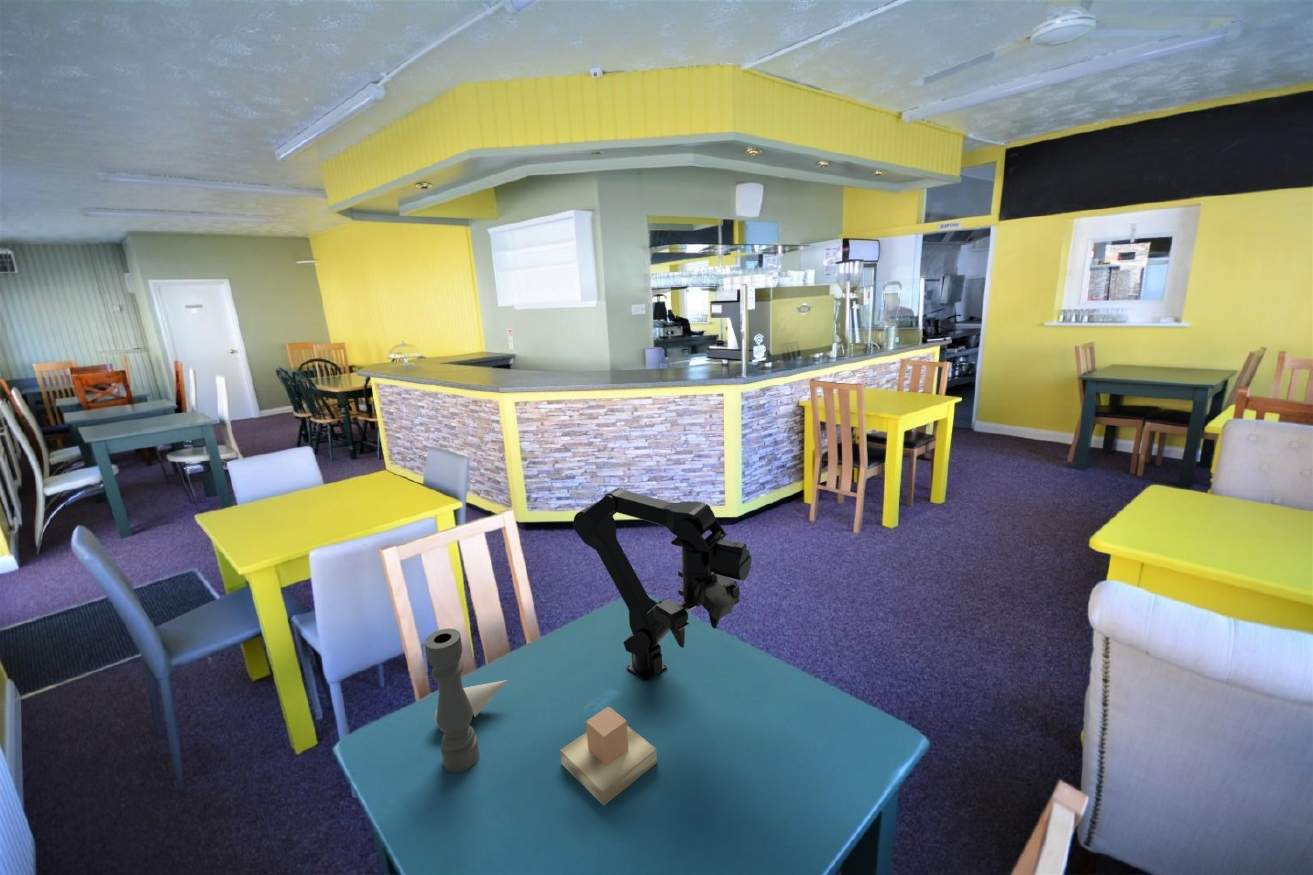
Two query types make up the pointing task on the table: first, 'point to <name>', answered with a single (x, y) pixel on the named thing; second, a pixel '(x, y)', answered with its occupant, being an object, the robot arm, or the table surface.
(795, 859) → the table surface
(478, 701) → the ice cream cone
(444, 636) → the candle holder
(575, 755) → the birch base
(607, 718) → the terracotta block
